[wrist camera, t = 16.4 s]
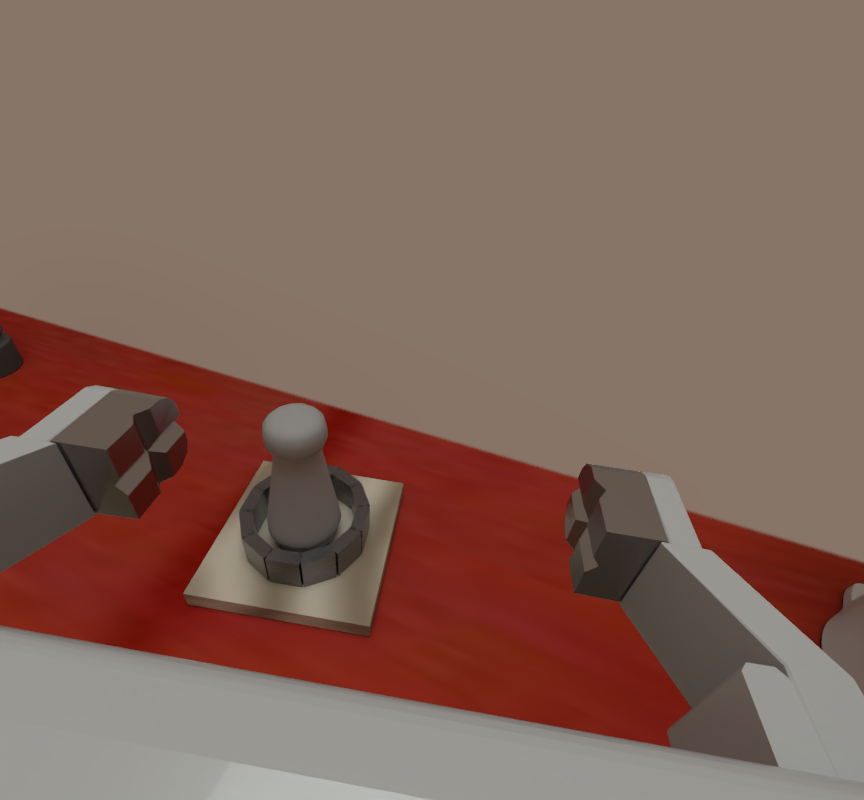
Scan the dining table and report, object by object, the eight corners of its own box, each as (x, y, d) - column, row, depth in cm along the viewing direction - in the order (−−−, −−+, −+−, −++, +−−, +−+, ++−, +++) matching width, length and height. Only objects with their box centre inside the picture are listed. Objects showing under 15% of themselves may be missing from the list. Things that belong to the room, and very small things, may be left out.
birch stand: (402, 493, 44) (403, 483, 43) (369, 636, 33) (369, 626, 32) (265, 471, 45) (263, 460, 44) (187, 604, 34) (183, 593, 33)
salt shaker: (284, 577, 35) (261, 457, 27) (261, 524, 38) (236, 404, 30) (353, 545, 37) (351, 428, 30) (326, 498, 41) (318, 383, 33)
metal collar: (378, 495, 42) (379, 473, 40) (350, 595, 34) (349, 573, 32) (275, 478, 42) (271, 456, 40) (222, 573, 34) (215, 550, 32)
